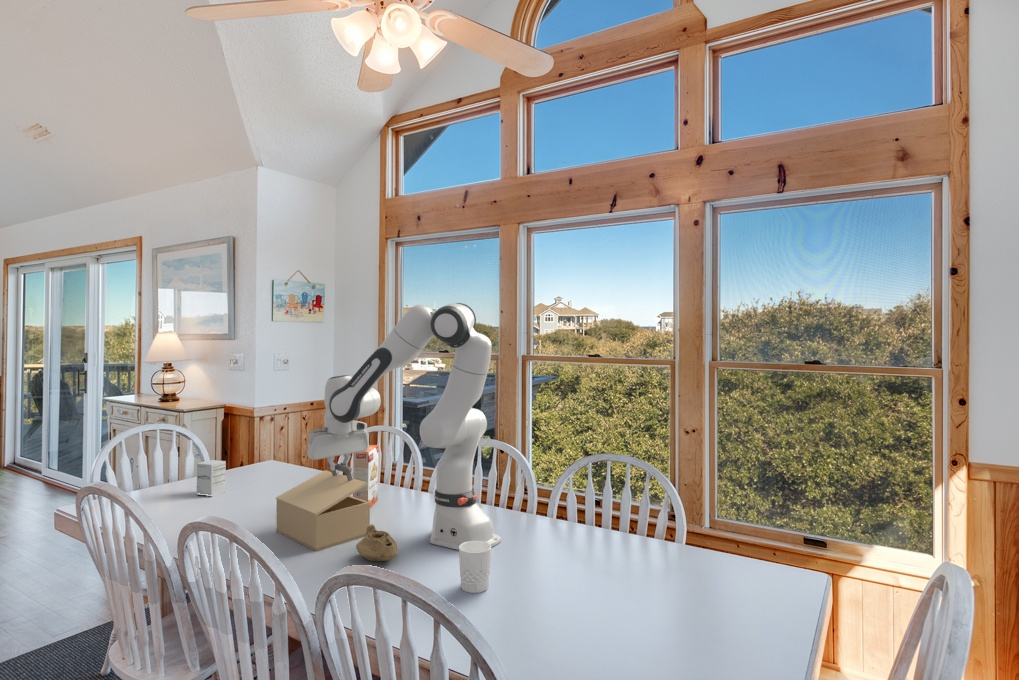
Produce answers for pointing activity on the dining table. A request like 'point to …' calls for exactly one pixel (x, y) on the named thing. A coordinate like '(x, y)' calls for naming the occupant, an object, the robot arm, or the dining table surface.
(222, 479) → the supplement box
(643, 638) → the dining table surface
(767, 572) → the dining table surface
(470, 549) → the white cup
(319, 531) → the carton
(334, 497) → the carton lid
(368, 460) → the cracker box
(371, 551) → the oil lamp
